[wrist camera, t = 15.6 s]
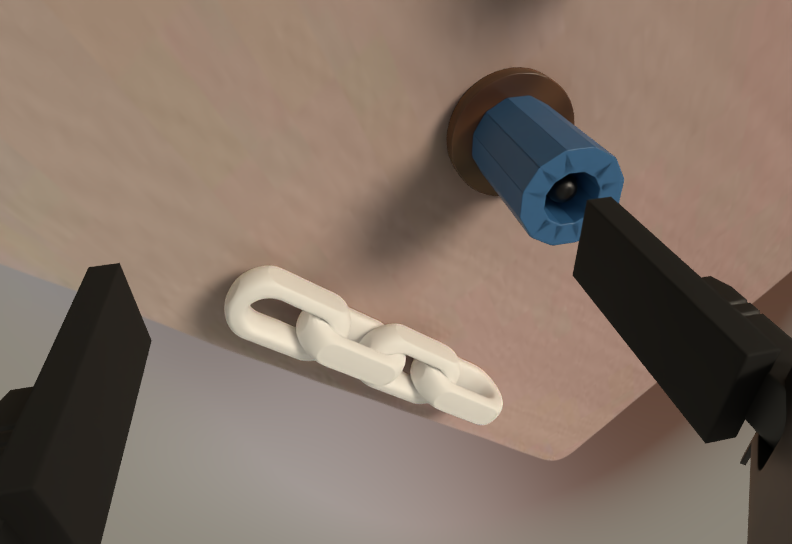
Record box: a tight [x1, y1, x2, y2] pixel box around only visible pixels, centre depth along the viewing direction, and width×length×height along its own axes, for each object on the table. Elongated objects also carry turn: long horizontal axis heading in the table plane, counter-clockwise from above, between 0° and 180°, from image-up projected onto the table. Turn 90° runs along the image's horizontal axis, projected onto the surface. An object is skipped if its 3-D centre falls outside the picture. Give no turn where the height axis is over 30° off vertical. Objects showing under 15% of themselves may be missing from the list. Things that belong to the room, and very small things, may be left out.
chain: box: [224, 266, 503, 425], centre depth 50 cm, size 30×6×6 cm, turn 53°
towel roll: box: [472, 96, 624, 245], centre depth 38 cm, size 7×7×10 cm
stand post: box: [547, 173, 578, 203], centre depth 38 cm, size 2×2×10 cm
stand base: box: [447, 67, 574, 196], centre depth 43 cm, size 10×10×2 cm
